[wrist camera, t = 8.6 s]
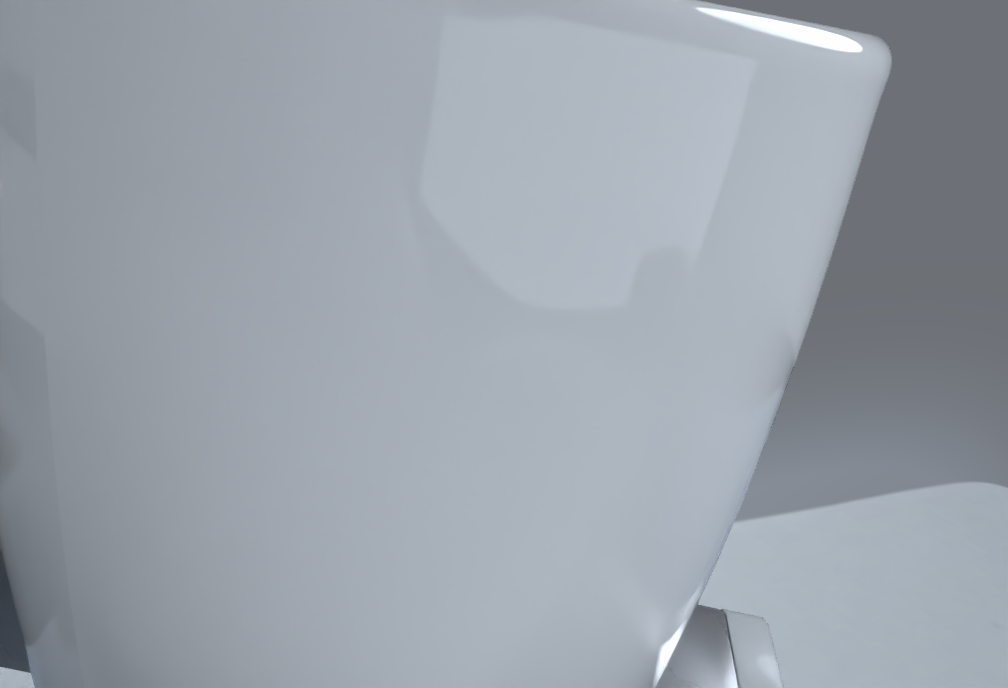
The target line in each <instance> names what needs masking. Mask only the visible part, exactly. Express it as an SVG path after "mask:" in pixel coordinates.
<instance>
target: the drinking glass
mask: <svg viewBox="0 0 1008 688" xmlns="http://www.w3.org/2000/svg"><path fill="white" fill-rule="evenodd" d="M891 67H892V55H891V51H890V49H889V47H888V45H887V44H886V43H885V42H884V41H883V40H882V39H881V38H880V37H877V36H875V35H871V34H866V33H861V32H856V31H851V30H846V29H841V28H836V27H830V26H825V25H821V24H815V23H810V22H805V21H800V20H795V19H790V18H784V17H780V16H775V15H770V14H764V13H759V12H755V11H749V10H744V9H739V8H734V7H729V6H724V5H719V4H713V3H709V2H703V1H699V0H0V552H1V557H2V561H3V565H4V569H5V573H6V577H7V581H8V585H9V589H10V593H11V597H12V601H13V605H14V609H15V613H16V617H17V621H18V625H19V629H20V633H21V637H22V641H23V645H24V649H25V652H26V656H27V660H28V664H29V667H30V671H31V675H32V679H33V682H34V686H35V688H657V686H658V684H659V682H660V680H661V678H662V676H663V674H664V672H665V670H666V668H667V666H668V664H669V662H670V660H671V658H672V656H673V654H674V652H675V650H676V648H677V646H678V644H679V642H680V640H681V638H682V636H683V633H684V631H685V629H686V627H687V625H688V623H689V621H690V619H691V617H692V615H693V613H694V611H695V609H696V607H697V604H698V602H699V600H700V598H701V596H702V593H703V591H704V589H705V587H706V585H707V583H708V580H709V578H710V576H711V574H712V572H713V569H714V567H715V565H716V563H717V561H718V559H719V556H720V554H721V551H722V549H723V547H724V544H725V542H726V540H727V537H728V535H729V533H730V530H731V528H732V525H733V523H734V521H735V518H736V516H737V514H738V511H739V509H740V506H741V504H742V502H743V499H744V496H745V494H746V492H747V489H748V487H749V484H750V481H751V479H752V476H753V474H754V471H755V469H756V466H757V464H758V461H759V459H760V456H761V454H762V451H763V448H764V446H765V443H766V441H767V438H768V436H769V433H770V431H771V428H772V425H773V423H774V420H775V418H776V414H777V412H778V409H779V407H780V404H781V401H782V398H783V396H784V393H785V390H786V387H787V385H788V382H789V379H790V377H791V374H792V371H793V368H794V366H795V363H796V360H797V357H798V354H799V351H800V348H801V346H802V343H803V340H804V337H805V334H806V331H807V328H808V325H809V323H810V320H811V316H812V313H813V311H814V308H815V305H816V302H817V299H818V296H819V293H820V290H821V287H822V283H823V281H824V278H825V275H826V272H827V268H828V265H829V263H830V259H831V256H832V253H833V250H834V247H835V244H836V241H837V237H838V234H839V231H840V228H841V225H842V222H843V218H844V215H845V212H846V209H847V206H848V202H849V199H850V196H851V193H852V189H853V186H854V182H855V179H856V176H857V173H858V170H859V166H860V163H861V160H862V156H863V153H864V150H865V147H866V143H867V140H868V137H869V133H870V130H871V127H872V124H873V121H874V117H875V114H876V111H877V108H878V105H879V102H880V99H881V96H882V93H883V91H884V88H885V85H886V83H887V80H888V78H889V75H890V72H891Z"/></svg>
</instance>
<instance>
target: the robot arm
mask: <svg viewBox="0 0 1008 688" xmlns="http://www.w3.org/2000/svg"><path fill="white" fill-rule="evenodd" d="M0 667H5V668H9V669H14V670H19V671H24V672H29V673H31V671H30V667H29V664H28V660H27V656H26V652H25V649H24V645H23V641H22V637H21V633H20V629H19V625H18V621H17V617H16V613H15V609H14V605H13V601H12V597H11V593H10V589H9V585H8V581H7V577H6V573H5V569H4V565H3V561H2V557H1V552H0ZM657 688H784V685H783V681H782V677H781V673H780V669H779V665H778V661H777V657H776V653H775V649H774V645H773V641H772V637H771V633H770V629H769V625H768V623H767V622H766V621H765V619H764V618H763V617H759V616H754V615H749V614H744V613H739V612H734V611H729V610H725V609H721V610H719V609H715V608H711V607H706V606H702V605H697V607H696V609H695V611H694V613H693V615H692V617H691V619H690V621H689V623H688V625H687V627H686V629H685V631H684V633H683V636H682V638H681V640H680V642H679V644H678V646H677V648H676V650H675V652H674V654H673V656H672V658H671V660H670V662H669V664H668V666H667V668H666V670H665V672H664V674H663V676H662V678H661V680H660V682H659V684H658V686H657Z"/></svg>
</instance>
